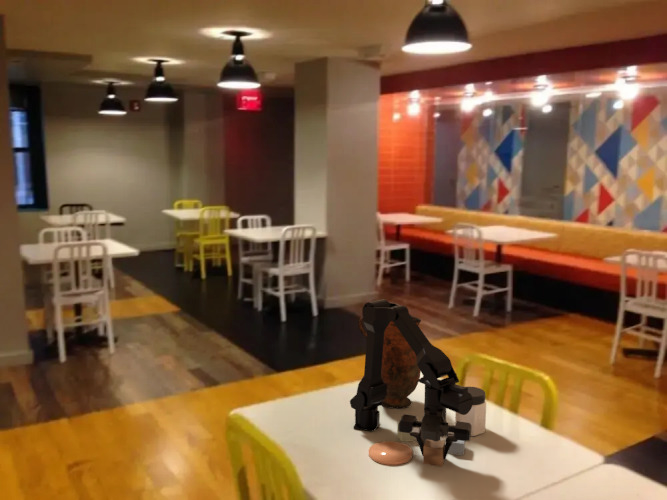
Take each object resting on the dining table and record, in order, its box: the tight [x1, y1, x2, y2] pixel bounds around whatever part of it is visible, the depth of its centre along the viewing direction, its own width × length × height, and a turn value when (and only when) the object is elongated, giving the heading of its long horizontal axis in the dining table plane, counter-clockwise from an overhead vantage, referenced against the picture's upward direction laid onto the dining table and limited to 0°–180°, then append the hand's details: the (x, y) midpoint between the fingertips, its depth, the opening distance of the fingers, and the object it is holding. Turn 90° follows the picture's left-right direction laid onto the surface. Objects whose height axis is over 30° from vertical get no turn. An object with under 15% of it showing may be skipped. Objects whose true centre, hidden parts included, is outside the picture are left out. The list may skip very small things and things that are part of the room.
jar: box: [454, 386, 487, 437], centre depth 186 cm, size 9×8×12 cm
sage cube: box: [396, 422, 416, 443], centre depth 181 cm, size 4×4×4 cm
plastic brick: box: [448, 440, 466, 456], centre depth 174 cm, size 4×5×4 cm
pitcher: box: [358, 314, 422, 410], centre depth 205 cm, size 17×21×30 cm
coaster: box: [368, 440, 413, 466], centre depth 172 cm, size 12×12×1 cm
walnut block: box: [422, 439, 446, 468], centre depth 168 cm, size 5×5×5 cm
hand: (434, 457), depth 168 cm, fingers open, 5 cm apart
